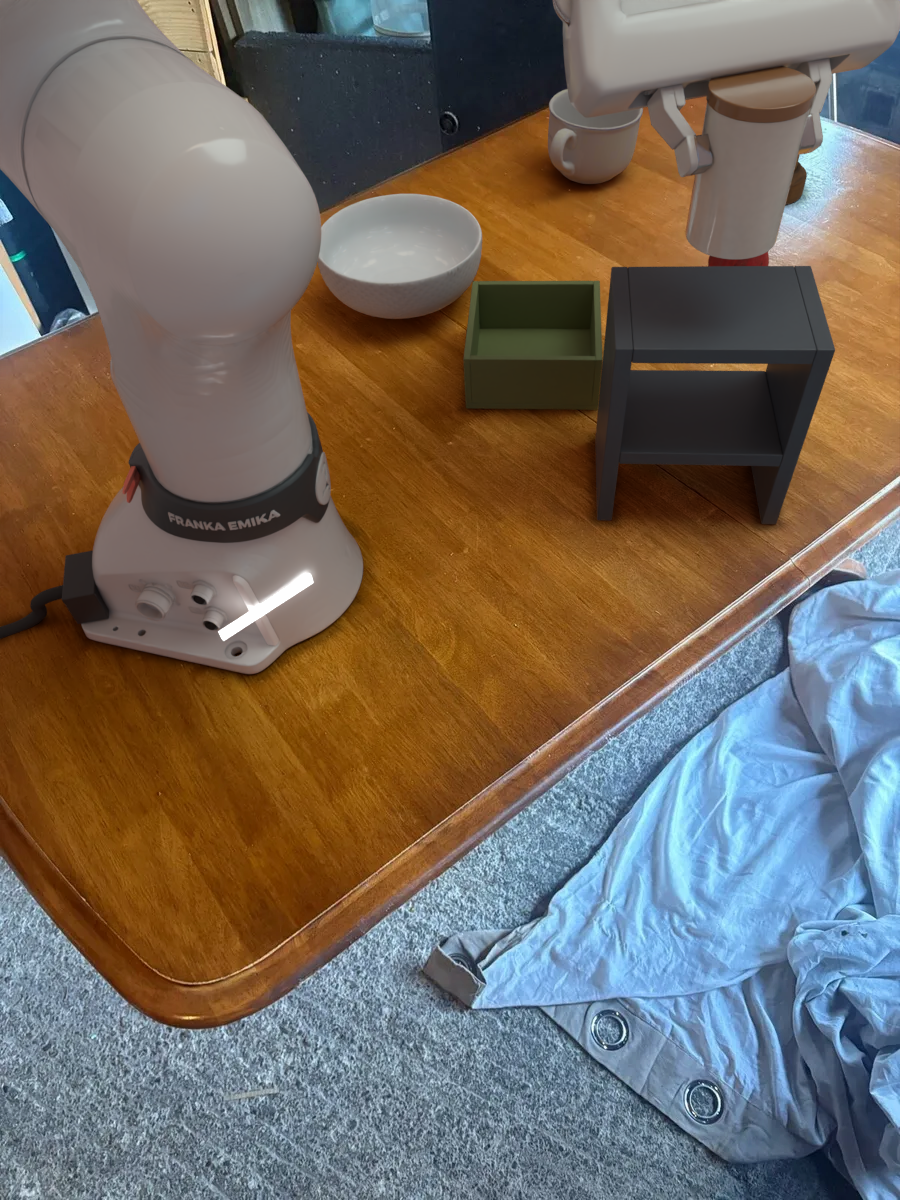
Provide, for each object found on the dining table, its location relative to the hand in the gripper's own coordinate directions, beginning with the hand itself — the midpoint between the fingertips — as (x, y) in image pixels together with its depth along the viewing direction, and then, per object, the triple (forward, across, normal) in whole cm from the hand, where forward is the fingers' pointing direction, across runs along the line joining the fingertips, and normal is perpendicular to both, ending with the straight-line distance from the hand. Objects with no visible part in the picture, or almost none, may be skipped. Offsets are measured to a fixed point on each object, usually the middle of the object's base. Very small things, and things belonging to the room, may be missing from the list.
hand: (752, 161), depth 54 cm
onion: (+3, +16, +36) cm, 40 cm away
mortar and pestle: (-10, +30, +48) cm, 58 cm away
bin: (+6, -7, +33) cm, 34 cm away
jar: (+3, 0, +4) cm, 5 cm away
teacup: (-18, +10, +56) cm, 60 cm away
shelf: (+19, 0, +20) cm, 27 cm away
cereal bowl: (-5, -16, +44) cm, 48 cm away
